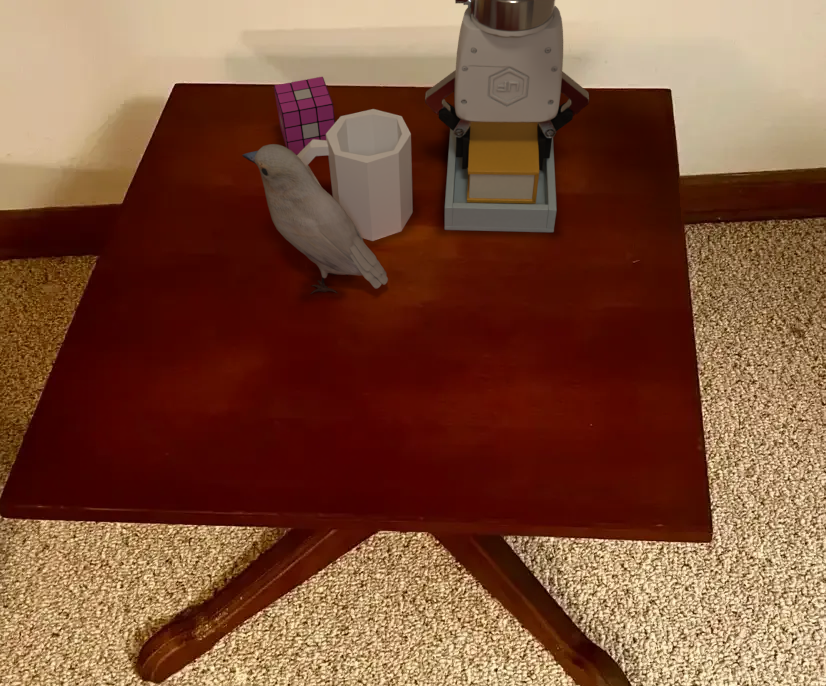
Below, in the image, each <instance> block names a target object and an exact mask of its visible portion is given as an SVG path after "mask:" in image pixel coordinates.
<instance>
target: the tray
mask: <svg viewBox="0 0 826 686" xmlns="http://www.w3.org/2000/svg"><path fill="white" fill-rule="evenodd" d="M448 140H449V141H448V153H447V154H448V155H447V168H446V169H447V170H446V184H445V198H444V226H443V227H444V231H473V232H475V231H477V232H478V231H479V232H512V233H513V232H515V233H516V232H517V233H518V232H519V233H554V232H555V224H556V218H557V207H558V206H557V190H556V170H555V152H554V149H555V148H554V137H553V138H552V143H551V151H550V158H544V159H543V168H542V170H539V179H538V188H537V197H536V204H524V203H467V188H468V168H467V169H462V157H456V136H455V135H454V134H453V130H451V129H450V128H449V139H448Z"/></svg>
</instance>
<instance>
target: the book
mask: <svg viewBox="0 0 826 686" xmlns="http://www.w3.org/2000/svg"><path fill="white" fill-rule="evenodd" d="M537 126H538V122H532V123H508V122H472V124H471V125H470V144H469V159H468V188H467V203H524V204H536V197H537V188H538V179H539V150H538V131H537Z"/></svg>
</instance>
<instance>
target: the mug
mask: <svg viewBox="0 0 826 686" xmlns="http://www.w3.org/2000/svg"><path fill="white" fill-rule="evenodd" d="M326 140H327V141H326ZM326 140H315V139H313V140H312V141H311V142H310V143H309V144H308V145H307V146H306V147H305V148H304V149H303V150H302V151H301V152H300V153H299V154H297V156H298V157H299V158H300V159H301V161H302V162H303V163H304V165H305V166H306V168H307V169H308V171H309V172H310V174H311V175H312V176H313V178H314V179H315V180H316V182H317V183H318V184H319V185H320V186H321V187H322V185H321V184H320V182H319V180H318V178H317V177H316V175H315V174H314V172H313V170H312V169H311V167H310V165H309V164H310V163H311V162H312V161H313V160H314V159H315V158H316V157H322V156H323V157H324V156H328V165H329V173H330V182H331V193H332V197H333V198H334V199H335V200H336V201H337V202H338V203H339V204H340V205H341V206H342V208H343V209H344V210H345V212H346V213H347V215H348V216H349V217H350V218H351V220H352V221H353V223H354V224H355V226H356V227H357V229H358V231H359V233H360V234H361V237H362V239H363V240H368V241H370V242H374V241H377V240H379V239H382V238H386V237H389V236H392V235H395V234H399V233H401V232H402V231H403V230H404V228H405V226H406V225H407V223H408V221H409V220H410V218H411V216H412V214H413V213H414V211H413V209H414V207H413V206H414V205H413V166H412V165H413V164H412V162H413V161H412V133H411V131H410V129H409V127H408V125H407V124H406V122H405V119H404V118H403V116H402V115H398V114H395V113H391V112H387V111H383V110H379V109H375V108H372V109H367V110H363V111H359V112H354V113H349V114H345V115H340V116H339V118H338V119H337V120H335V124H334V125H333V126H332V127H331V128H330V130H329V131H328V132H327V133H326Z"/></svg>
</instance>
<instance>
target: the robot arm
mask: <svg viewBox="0 0 826 686" xmlns="http://www.w3.org/2000/svg"><path fill="white" fill-rule="evenodd" d="M454 1H455V4H463V6H467V7H466V9H465V11H464V13H463V17H462V20H461V24H460V29H459V34H458V41H457V49H456V59H455V60H456V61H455V70H453V71H452V72H450V73H449V74H448V75H447V76H445V77H444V78H443V79H441V80H440V81H439V82H437V83H436V84H434V85H433V86H432V87H430V88H429V89H427V90H426V91H425V96H424V103H425V105H426V106H427V107H428V108H429V109H431V111H432V112H433V113H434V114H436V115H437V116H438V119H439V120H440V121H441V122H442V123H443V124H444V125H445V126H447V127H448V128H449V130H450V129H451V130H453V134H454V135H455V136H456V157H462V169H467V168H468V159H469V144H470V125H471V124H472V122H508V123H532V122H538V126H537V131H538V150H539V170H542V168H543V159H544V158H550V151H551V143H552V138H553V139H554V138H555V136H556V135H557V132H558V131H559V130H561V129H562V128H563V127H564V126H567V124H569V123H570V122H571V121H572V120H573V119H574V116H575V115H578V114H579V113H580V112H582V110H584V109H585V108H586V107H587V106H588V105H589V104H590V95H589V92H588V91H587V90H586V89H585V88H584V87H583V86H581V85H580V84H579V83H578V82H577V81H575V80H574V79H573V78H572V77H570V76H569V75H568V74H567V73H565V72H564V71H563V66H564V64H563V63H564V28H563V18H562V15H561V11H560V9H559V8H558V7H557V6H556V0H454ZM453 93H454V94H453ZM452 94H453V95H454V106H453V105H452V104H451V103H450V102H448V101H446V98H447V97H449V96H450V95H452ZM561 94H563V95H564V96H565V97H566V98H567V101H566V102H563V103H562V104H560V101H561Z"/></svg>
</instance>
